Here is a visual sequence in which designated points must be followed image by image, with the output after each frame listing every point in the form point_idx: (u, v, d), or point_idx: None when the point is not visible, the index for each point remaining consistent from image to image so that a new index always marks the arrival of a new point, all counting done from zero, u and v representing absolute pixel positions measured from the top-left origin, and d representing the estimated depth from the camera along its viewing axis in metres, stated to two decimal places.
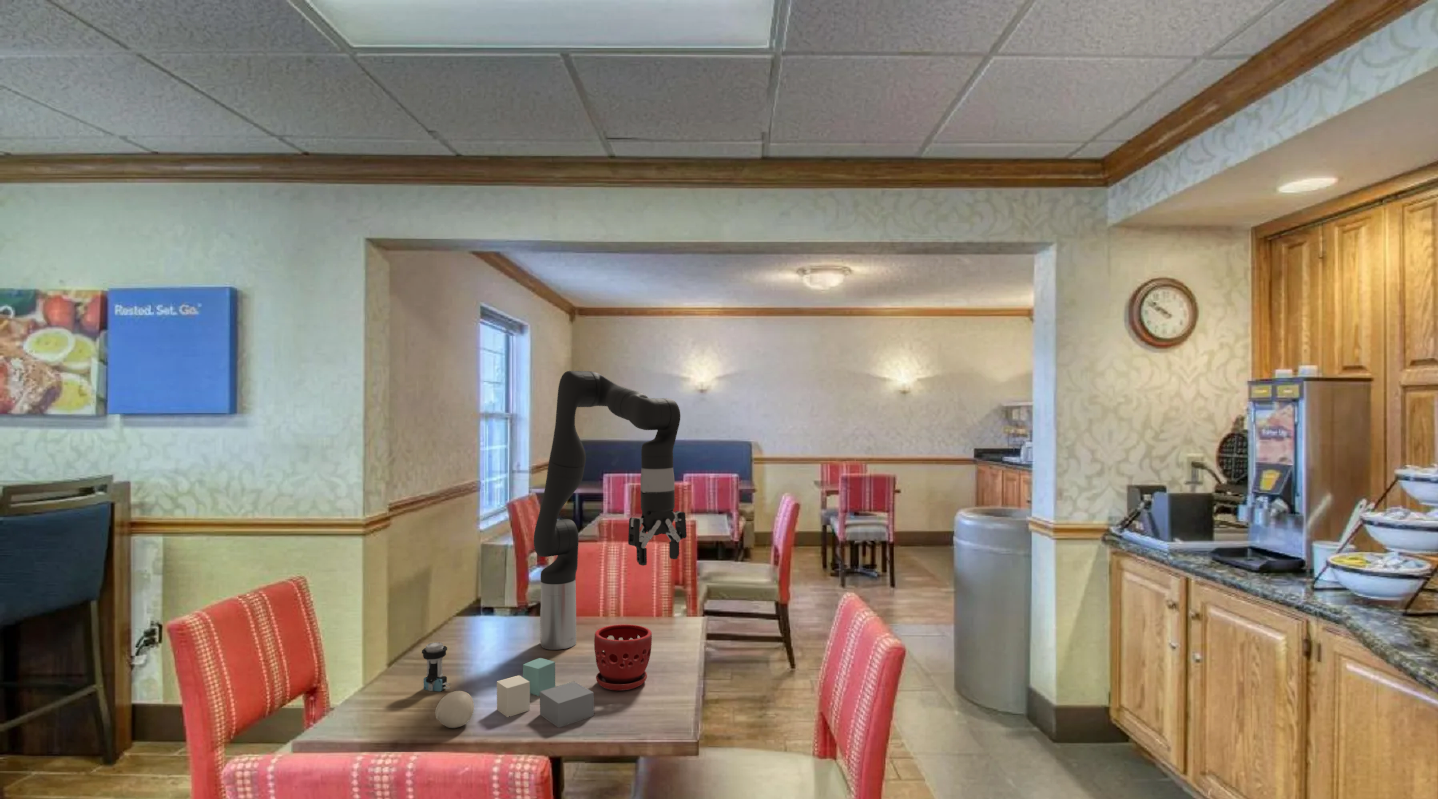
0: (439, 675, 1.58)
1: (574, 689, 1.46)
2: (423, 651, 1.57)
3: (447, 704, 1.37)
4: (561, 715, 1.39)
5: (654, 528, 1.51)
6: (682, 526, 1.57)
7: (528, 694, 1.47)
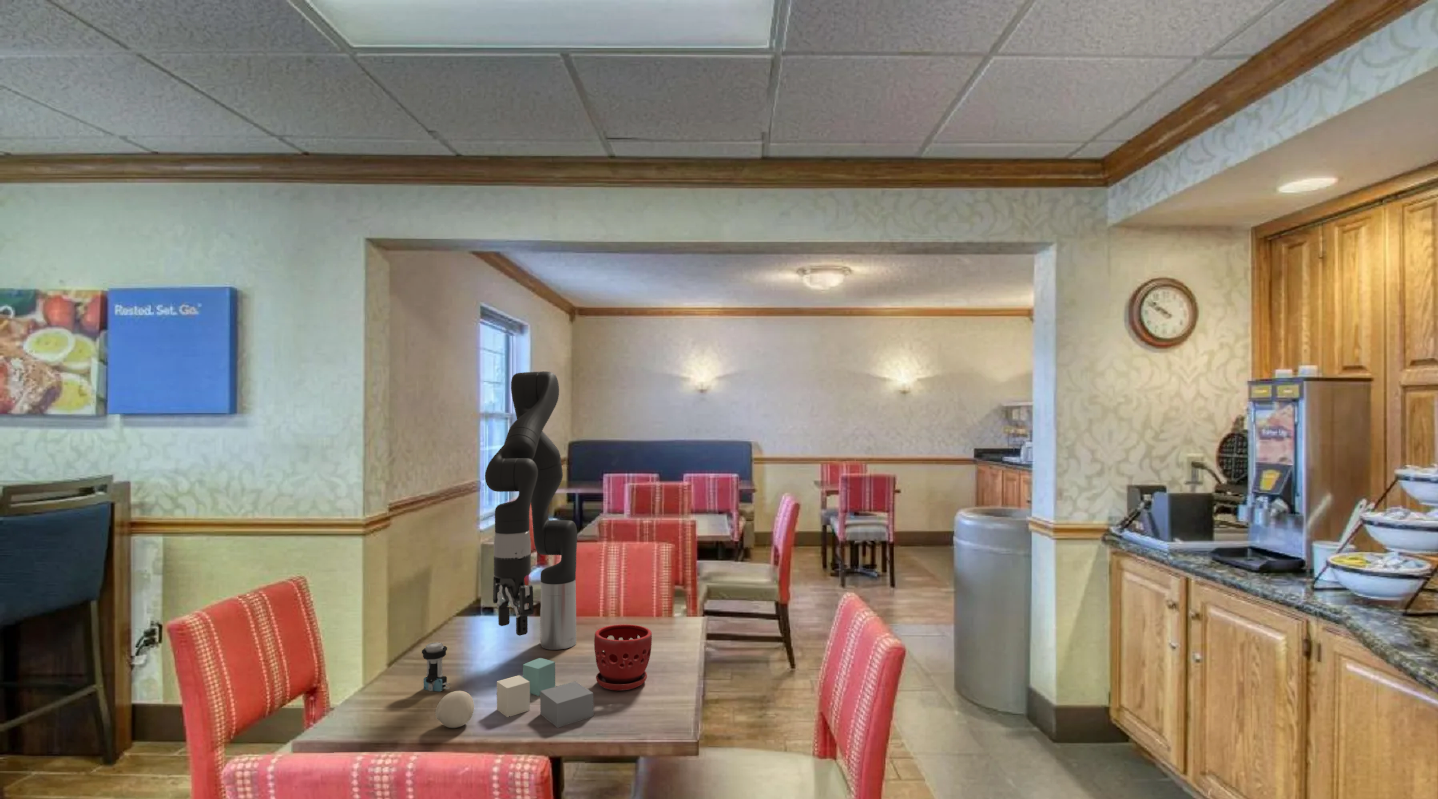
0: (439, 675, 1.58)
1: (574, 689, 1.46)
2: (423, 651, 1.57)
3: (447, 704, 1.37)
4: (560, 715, 1.39)
5: None
6: None
7: (528, 694, 1.47)
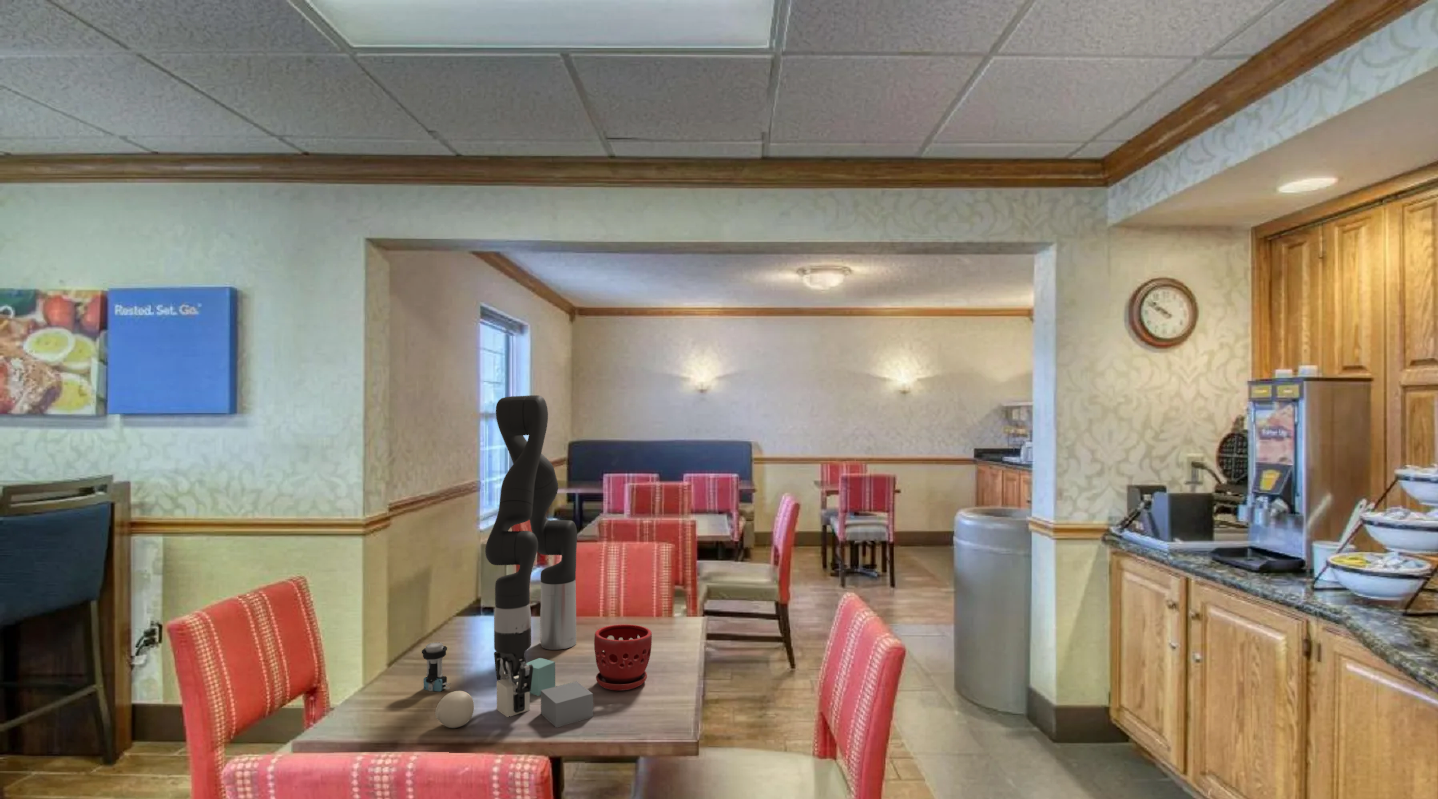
0: (439, 675, 1.58)
1: (575, 689, 1.46)
2: (423, 651, 1.57)
3: (447, 704, 1.37)
4: (559, 715, 1.39)
5: None
6: None
7: (528, 694, 1.47)
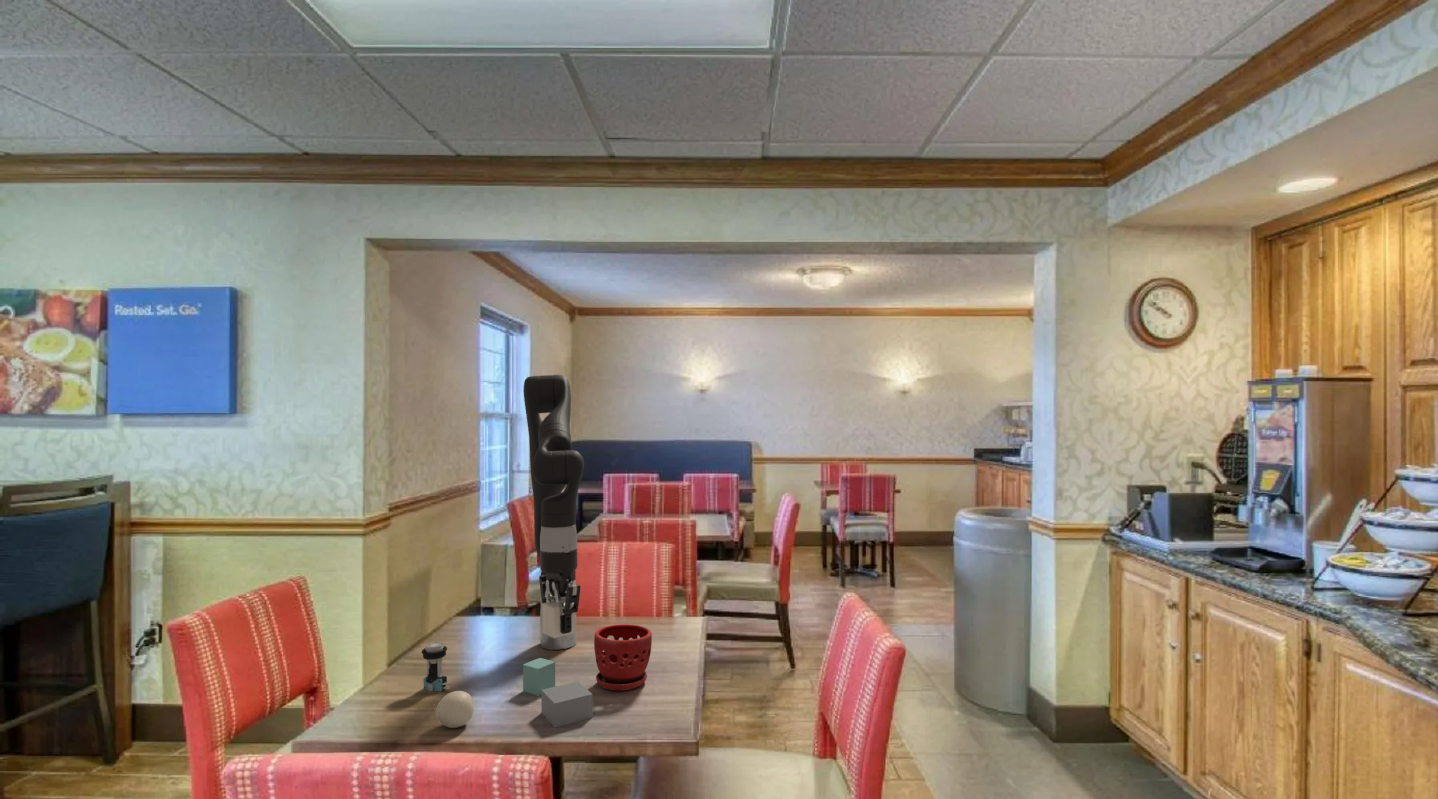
0: (439, 675, 1.58)
1: (575, 689, 1.45)
2: (423, 651, 1.57)
3: (447, 704, 1.37)
4: (557, 715, 1.39)
5: None
6: None
7: (574, 616, 1.44)
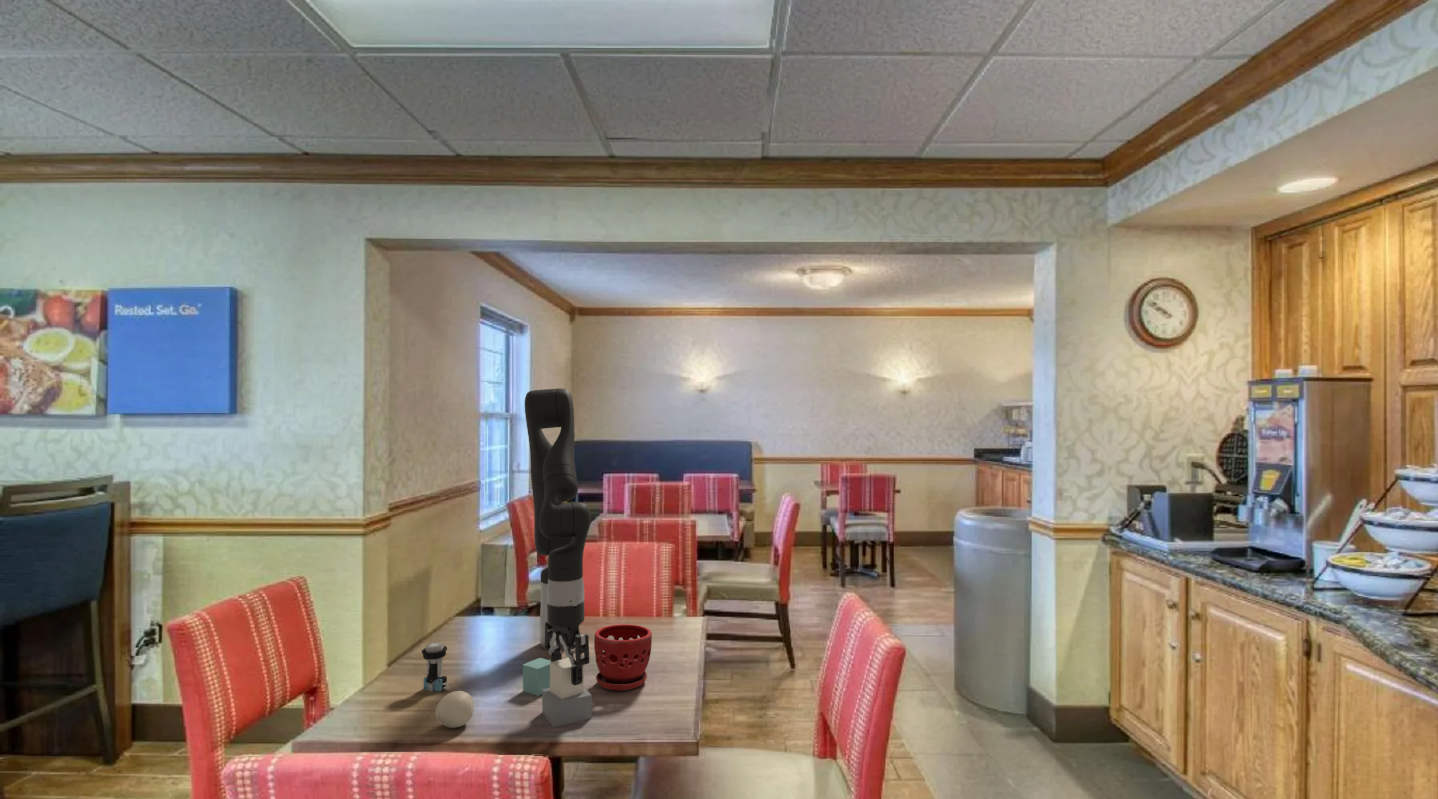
0: (439, 675, 1.58)
1: None
2: (423, 651, 1.57)
3: (447, 704, 1.37)
4: (556, 715, 1.39)
5: None
6: None
7: None
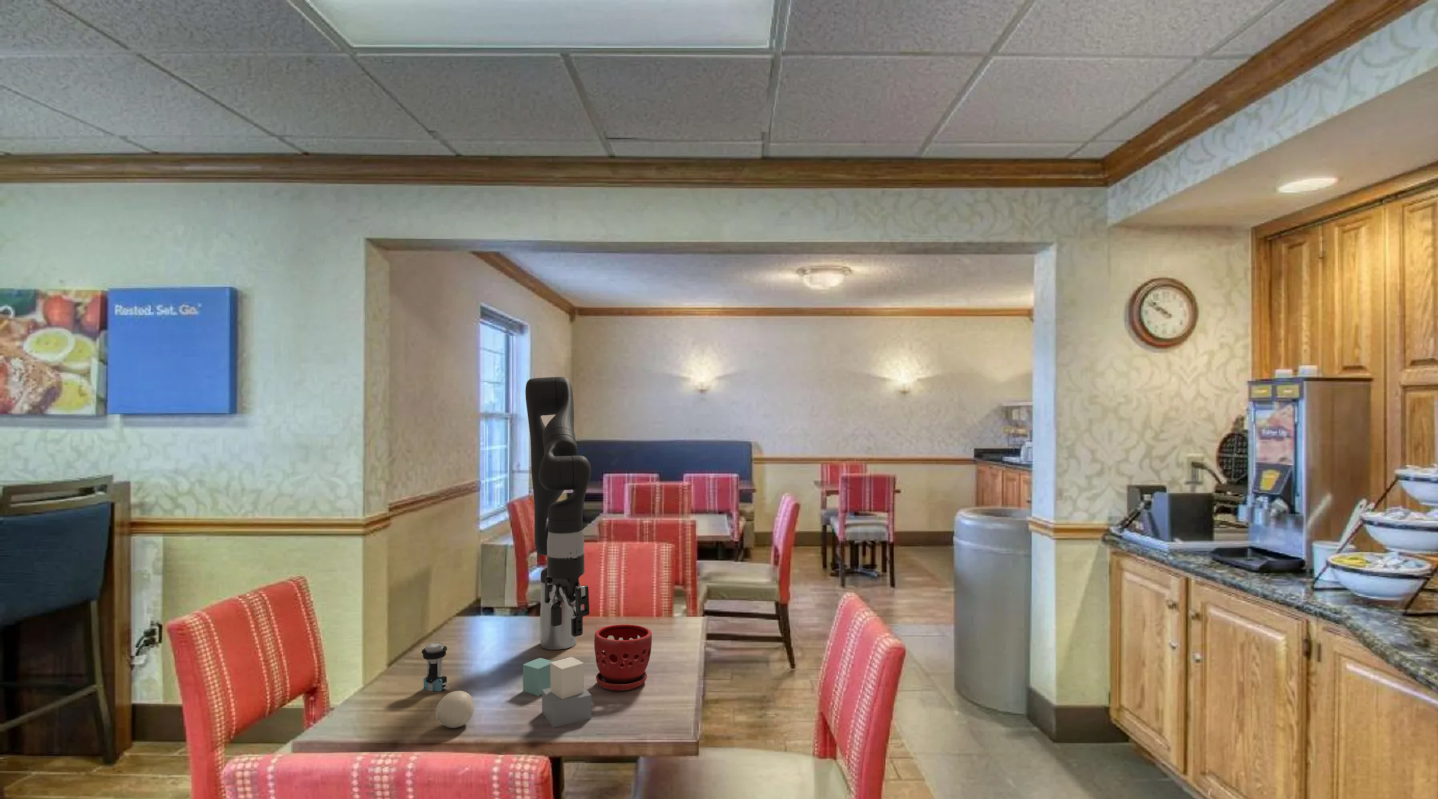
0: (439, 675, 1.58)
1: None
2: (423, 651, 1.57)
3: (447, 704, 1.37)
4: (556, 715, 1.39)
5: None
6: None
7: (582, 675, 1.44)
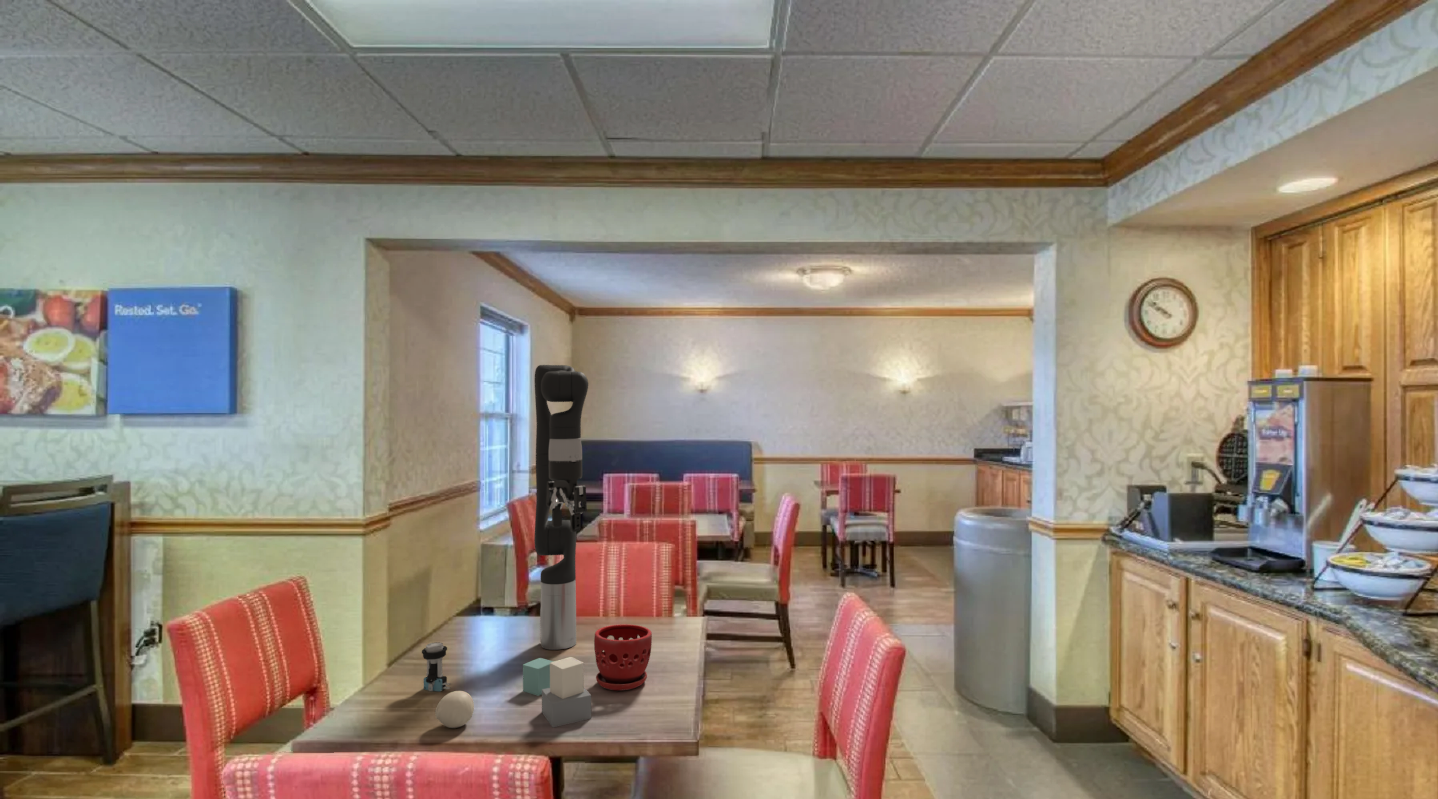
0: (439, 675, 1.58)
1: None
2: (423, 651, 1.57)
3: (447, 704, 1.37)
4: (555, 715, 1.39)
5: None
6: None
7: (582, 675, 1.44)
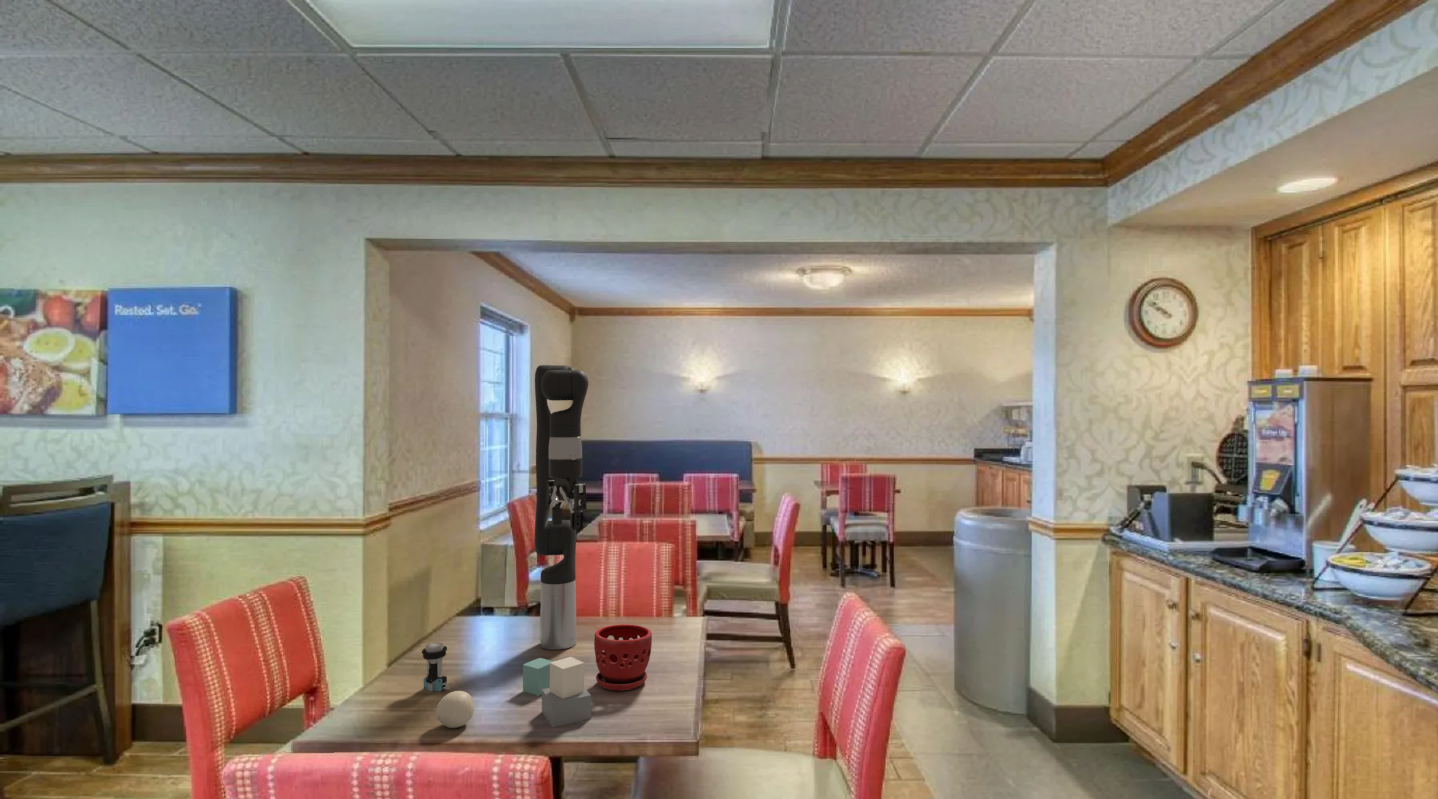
0: (439, 675, 1.58)
1: None
2: (423, 651, 1.57)
3: (447, 704, 1.37)
4: (555, 715, 1.39)
5: None
6: None
7: (582, 675, 1.44)
